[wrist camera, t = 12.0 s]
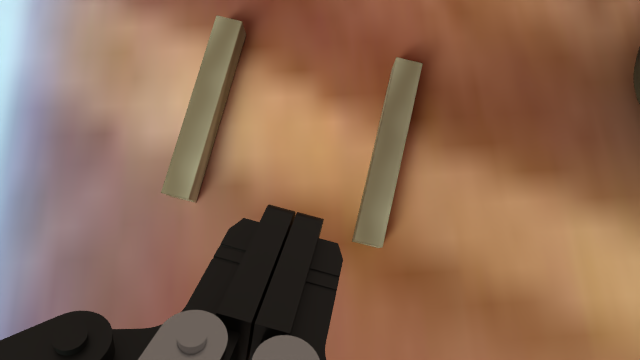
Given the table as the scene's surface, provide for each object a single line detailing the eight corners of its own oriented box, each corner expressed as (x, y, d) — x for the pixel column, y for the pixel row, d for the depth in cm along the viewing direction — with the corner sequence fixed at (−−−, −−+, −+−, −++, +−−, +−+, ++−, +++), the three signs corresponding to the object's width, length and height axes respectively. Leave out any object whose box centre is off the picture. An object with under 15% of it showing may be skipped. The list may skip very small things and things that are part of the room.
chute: (462, -136, 38) (475, -169, 35) (378, 247, 32) (384, 246, 29) (285, -174, 38) (282, -210, 36) (170, 196, 33) (156, 190, 30)
